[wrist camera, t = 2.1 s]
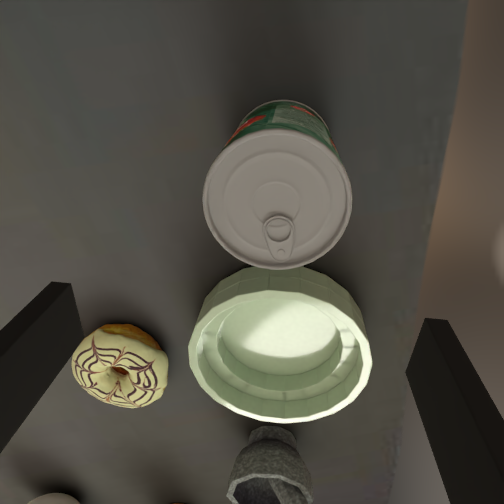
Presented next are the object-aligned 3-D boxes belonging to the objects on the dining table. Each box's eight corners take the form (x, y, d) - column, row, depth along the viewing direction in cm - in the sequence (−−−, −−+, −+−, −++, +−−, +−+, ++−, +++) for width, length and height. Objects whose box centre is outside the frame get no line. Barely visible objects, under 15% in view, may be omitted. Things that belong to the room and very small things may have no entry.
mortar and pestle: (239, 460, 50) (224, 569, 39) (230, 415, 45) (211, 526, 35) (321, 463, 48) (329, 578, 38) (321, 418, 44) (330, 534, 33)
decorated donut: (184, 338, 39) (174, 364, 36) (161, 396, 45) (151, 424, 41) (91, 305, 38) (72, 329, 35) (79, 369, 44) (62, 395, 40)
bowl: (197, 252, 34) (182, 282, 29) (377, 266, 32) (390, 300, 28) (203, 376, 42) (193, 413, 38) (348, 390, 41) (354, 431, 36)
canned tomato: (224, 106, 27) (186, 138, 18) (330, 92, 26) (352, 118, 16) (240, 204, 31) (216, 274, 21) (334, 196, 30) (353, 266, 20)
